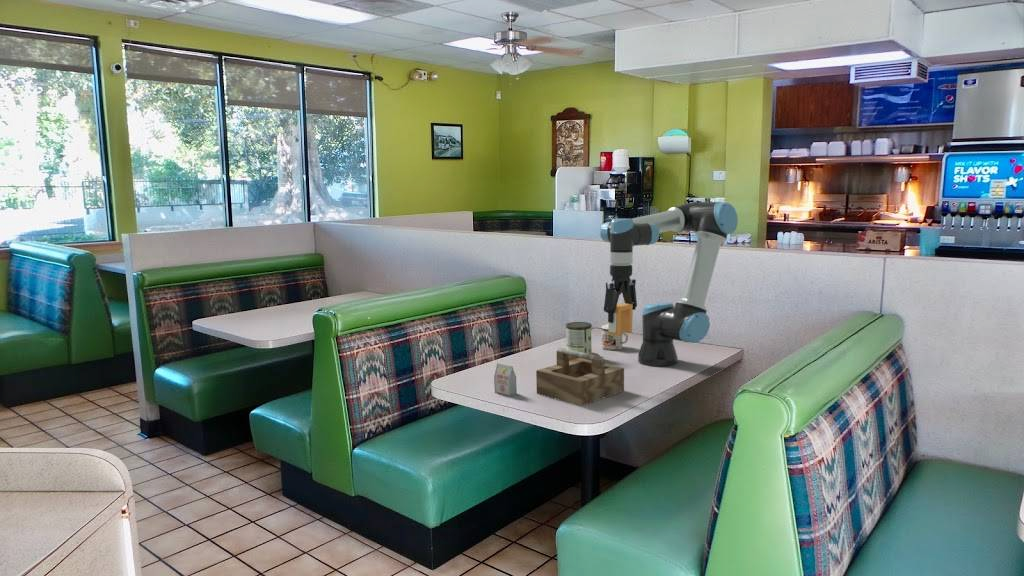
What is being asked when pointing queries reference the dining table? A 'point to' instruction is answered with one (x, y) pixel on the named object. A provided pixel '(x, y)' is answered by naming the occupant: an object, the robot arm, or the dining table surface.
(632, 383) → the dining table surface
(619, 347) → the teacup with lid
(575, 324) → the coffee can
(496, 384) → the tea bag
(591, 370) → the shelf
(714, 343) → the dining table surface
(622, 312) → the orange u-shaped bracket
